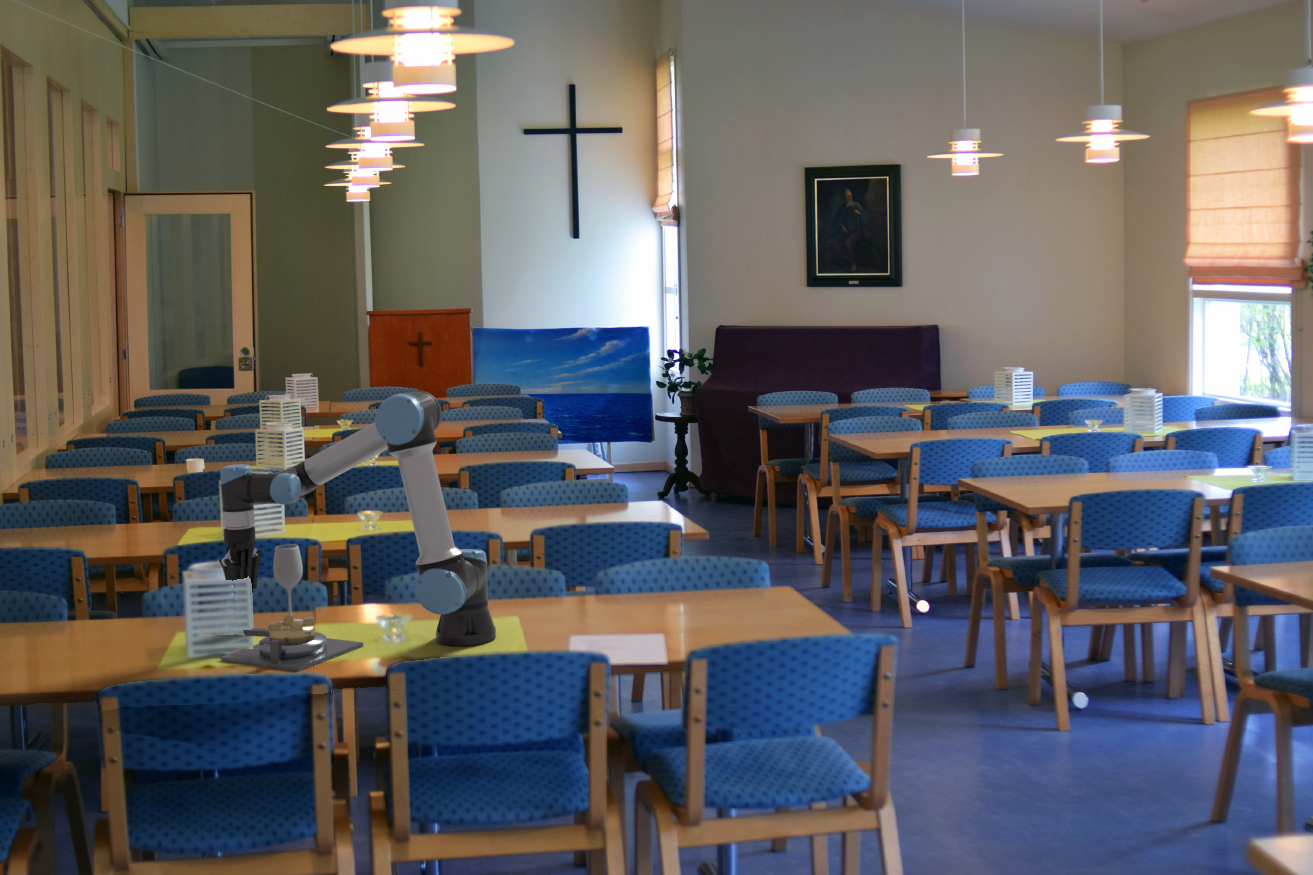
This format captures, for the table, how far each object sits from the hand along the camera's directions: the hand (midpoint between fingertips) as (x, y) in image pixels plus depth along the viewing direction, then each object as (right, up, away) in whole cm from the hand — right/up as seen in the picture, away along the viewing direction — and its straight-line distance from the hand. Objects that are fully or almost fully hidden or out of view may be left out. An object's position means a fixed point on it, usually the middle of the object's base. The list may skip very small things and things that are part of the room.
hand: (244, 618), depth 329 cm
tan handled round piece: (+8, -4, -5) cm, 11 cm away
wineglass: (+5, -5, +24) cm, 25 cm away
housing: (+14, -8, -7) cm, 17 cm away
